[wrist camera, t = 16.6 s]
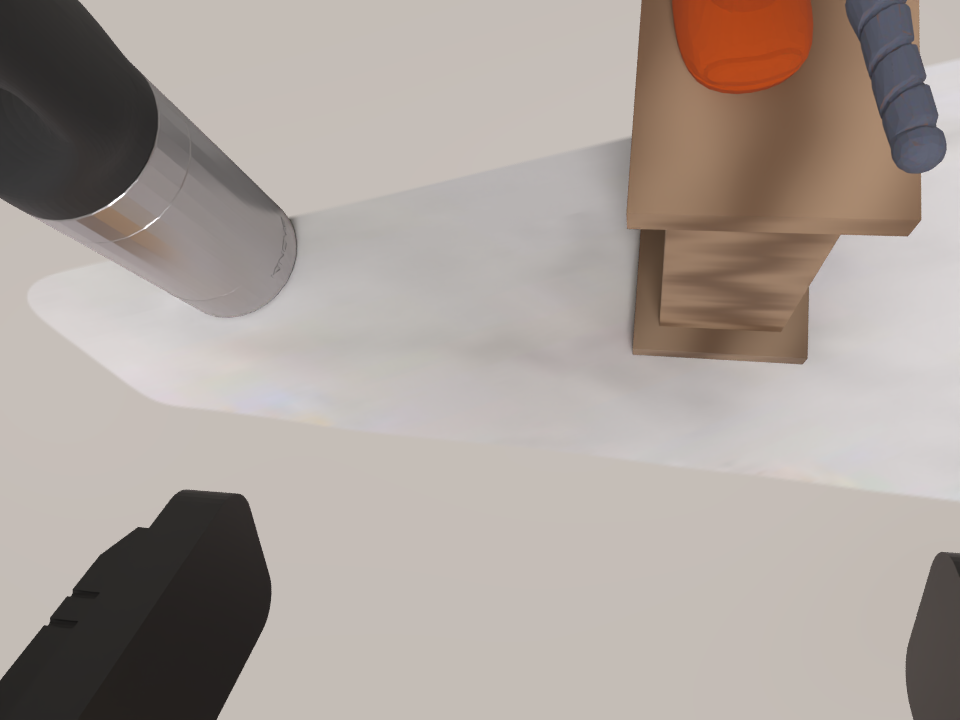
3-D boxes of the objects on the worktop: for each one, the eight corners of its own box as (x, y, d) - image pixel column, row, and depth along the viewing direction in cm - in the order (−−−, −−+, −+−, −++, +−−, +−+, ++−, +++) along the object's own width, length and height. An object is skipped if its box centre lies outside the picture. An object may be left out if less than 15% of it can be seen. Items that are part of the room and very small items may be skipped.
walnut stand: (633, 354, 51) (626, 213, 30) (643, 190, 54) (644, -46, 33) (802, 364, 49) (921, 220, 28) (806, 193, 52) (918, -57, 31)
